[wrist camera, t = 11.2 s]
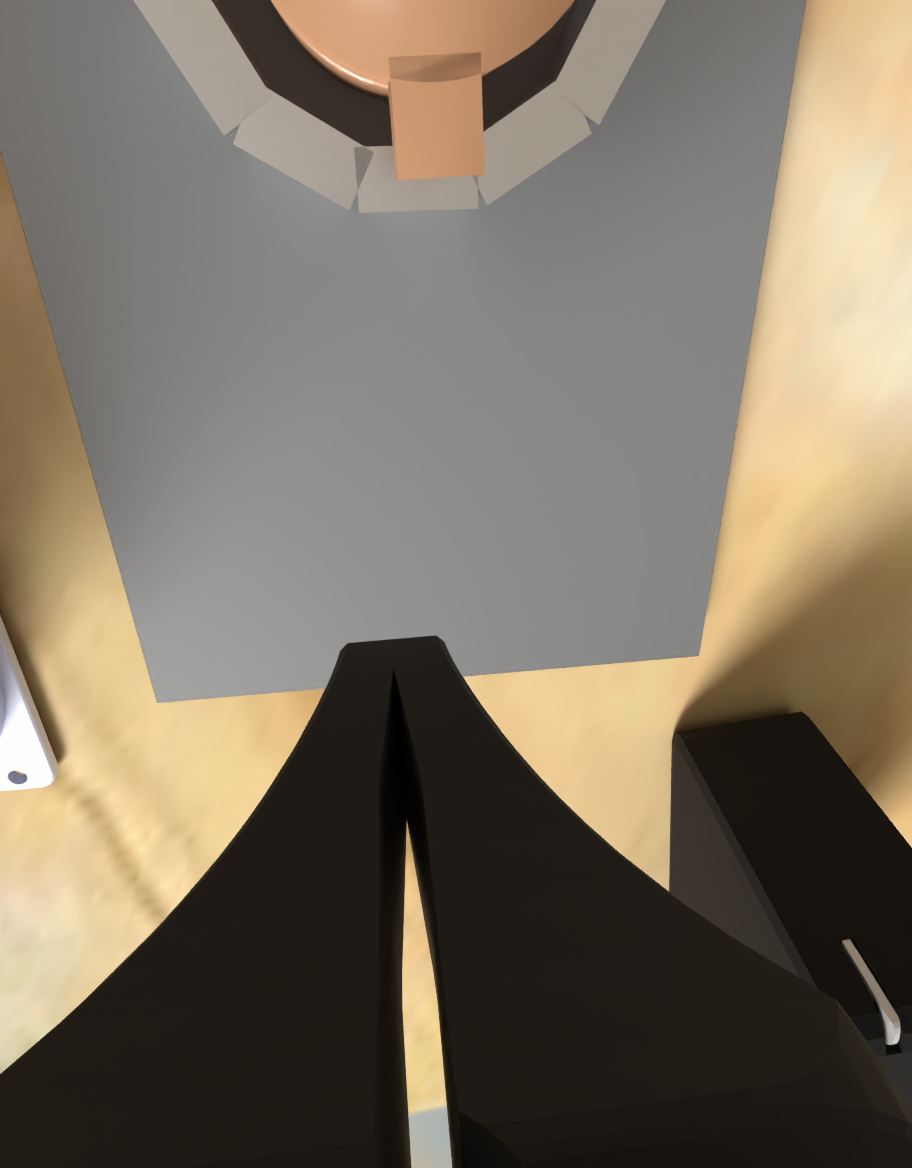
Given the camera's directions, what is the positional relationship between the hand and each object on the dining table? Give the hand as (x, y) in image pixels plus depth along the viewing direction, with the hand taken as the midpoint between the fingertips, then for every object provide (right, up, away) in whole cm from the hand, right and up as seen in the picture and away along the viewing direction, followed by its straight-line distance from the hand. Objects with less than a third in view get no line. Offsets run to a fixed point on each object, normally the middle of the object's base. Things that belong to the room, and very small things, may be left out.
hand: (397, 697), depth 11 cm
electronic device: (+10, -7, +16) cm, 20 cm away
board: (0, +9, +6) cm, 11 cm away
